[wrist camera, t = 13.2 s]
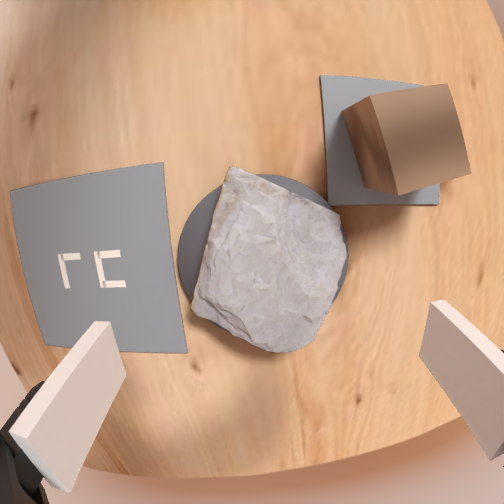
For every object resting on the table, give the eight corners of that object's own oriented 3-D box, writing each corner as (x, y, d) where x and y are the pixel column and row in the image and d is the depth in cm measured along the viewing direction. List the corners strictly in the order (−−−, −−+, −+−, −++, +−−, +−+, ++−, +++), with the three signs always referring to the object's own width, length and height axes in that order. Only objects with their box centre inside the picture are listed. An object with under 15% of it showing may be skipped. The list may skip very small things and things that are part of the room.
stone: (361, 213, 22) (379, 221, 19) (304, 345, 25) (310, 370, 22) (230, 164, 22) (226, 164, 18) (185, 309, 24) (175, 331, 21)
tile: (320, 75, 20) (320, 75, 20) (432, 88, 20) (433, 87, 20) (327, 205, 23) (328, 205, 23) (437, 204, 23) (439, 204, 22)
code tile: (11, 190, 22) (9, 191, 22) (163, 162, 22) (162, 162, 22) (46, 344, 26) (45, 344, 26) (187, 351, 26) (187, 352, 26)
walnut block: (341, 111, 21) (369, 95, 15) (407, 97, 20) (447, 83, 14) (364, 187, 22) (398, 195, 16) (426, 169, 22) (471, 173, 16)
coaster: (171, 181, 22) (169, 181, 22) (345, 171, 22) (348, 172, 22) (190, 337, 26) (189, 340, 25) (342, 328, 26) (344, 331, 25)
